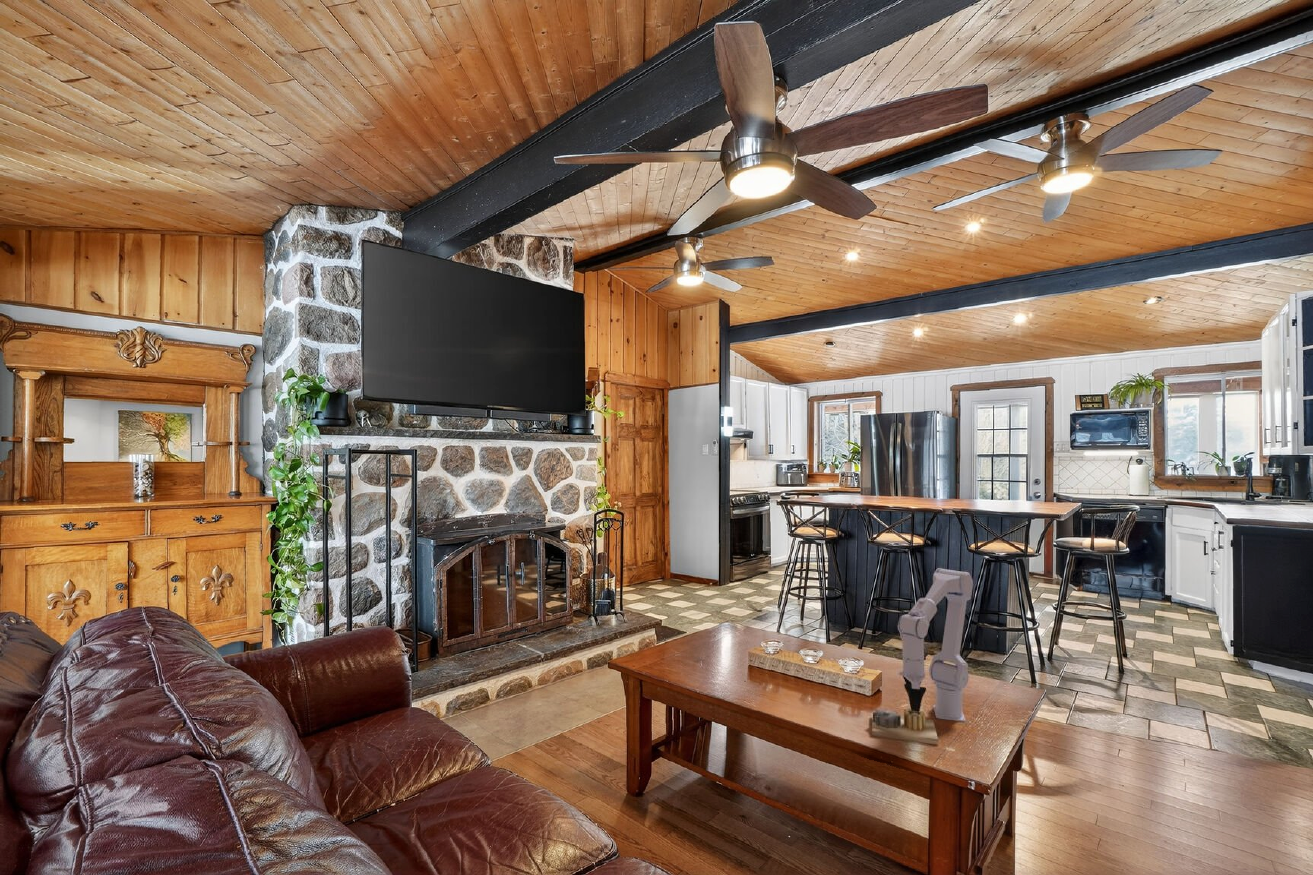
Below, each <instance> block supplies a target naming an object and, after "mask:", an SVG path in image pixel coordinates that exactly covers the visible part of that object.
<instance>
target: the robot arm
mask: <svg viewBox="0 0 1313 875" xmlns="http://www.w3.org/2000/svg"><path fill="white" fill-rule="evenodd" d="M973 586H974V580H973V577H972V576H971V574H970V572H968V571H958V570H954V569H946V568H942V567H938V568H936V570H935V571H934V573H933V575H932V584H931V587H930V588H929V590H928V592H927V593H926V595H925V597H920V598H919V599H918V600H917V601H916V602H915V604H914V605H913V606H912V608H911V609H910V610H909V611H908V613H907V614H903V615H901V616H900V617H899V618H898V623H897V630H898V632H899V634H900V636H899V637H900V640H901V641H902V642H901V643H902V644H901V645H902V670H898V675H899V676H902V678H903V680H904V683H903V686H904V689H905V691H906V693H907V696H908V701H909V707H910V709H911V710H912V711H918V712H919V711H921V706H922V701H923V698H924V696H925V694H926V692H927V687H926V686H921V684H922V682H923V680H924V679H925V678H926V674H925V637H926V636H927V634H928V630H929V627H930V621H931V620H932V619H933V618H934V616H935V615H936V613H937V612H938V607H937V605H938V604H939V603H940V602H941V601H942V600H943V599H944V597H946V599H947V601H948V602H947V608H946V609H947V610H946V615H945V616H946V617H945V624H944V630H943V631H944V632H943V638H942V646H941V651H940V652H938V653H936V654H933V656H932V659H931V662H930V665H929V668H928V675H929V677H930V679H931V680H932V681H933V685H935V701H936V702H935V704H934V705H933V710H934V714H935V718H936V719H939V720H940V719H941V720H948V721H956V722H964V723H965V722H966V721H967V720H966V718H965V715H964V713H963V689H965V688H966V687H967V685H968V683H969V664H968V663H967V661H965V660H964V659H963V658H962V656H961V655H960V654H961V653H960V652H961V647H962V646H961V645H962V638H963V632H964V624H965V618H966V616H965V615H966V610H967V601H970V600H971V599H972V596H973V595H972V594H973ZM946 662H947V663H946Z"/></svg>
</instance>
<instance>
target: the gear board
mask: <svg viewBox="0 0 1313 875" xmlns="http://www.w3.org/2000/svg"><path fill="white" fill-rule="evenodd" d="M911 714H913V715H918V714H917V713H911ZM871 728H872V730H871V732H872V736H873V737H877V738H878V737H880V738H886V739H894V740H900V741H908V742H915V743H922V744H930V745H937V746H938V745H939V738H938V737H939V736H938V735H937V730H936V726H935V723H934V720H933V719H928V718H925V728H926V729H925V730H922V731H919V730H917V731H914V730H910V729H909V728H906V727H905V726H904V715H901V714H900V715H899V714H898V712H897V711H895V710H893V711H892V710H889V709H887V708H884V709H878V708H877V709H875V711H872V712H871Z"/></svg>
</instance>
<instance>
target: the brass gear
mask: <svg viewBox="0 0 1313 875" xmlns="http://www.w3.org/2000/svg"><path fill="white" fill-rule="evenodd" d="M911 713H917V714H918V715H913V714H911ZM903 716H904V726H905V727H906V728H909V729H910V730H914V731H917V730H919V731H922V730H925V729H926V728H925V719H926V713H925V712H924V711H923V710H922V711H921V710H920V711H919V712H918V711H912V710H911V707H910V708H907V709H904V710H903Z"/></svg>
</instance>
